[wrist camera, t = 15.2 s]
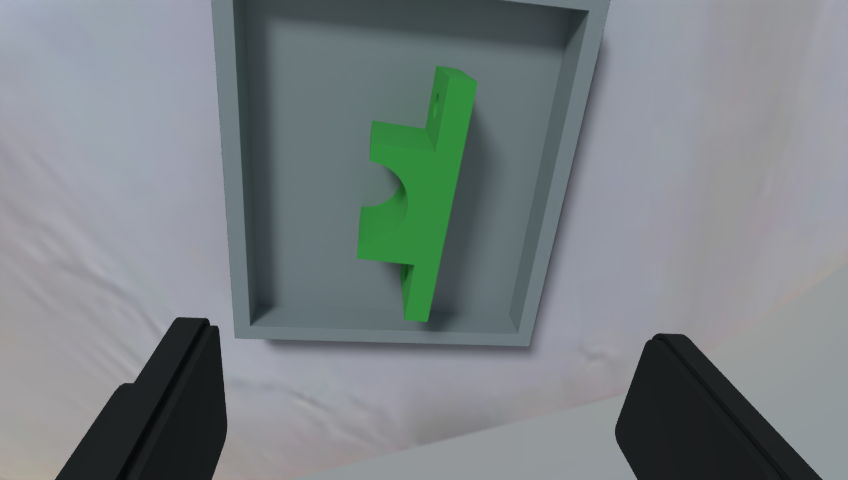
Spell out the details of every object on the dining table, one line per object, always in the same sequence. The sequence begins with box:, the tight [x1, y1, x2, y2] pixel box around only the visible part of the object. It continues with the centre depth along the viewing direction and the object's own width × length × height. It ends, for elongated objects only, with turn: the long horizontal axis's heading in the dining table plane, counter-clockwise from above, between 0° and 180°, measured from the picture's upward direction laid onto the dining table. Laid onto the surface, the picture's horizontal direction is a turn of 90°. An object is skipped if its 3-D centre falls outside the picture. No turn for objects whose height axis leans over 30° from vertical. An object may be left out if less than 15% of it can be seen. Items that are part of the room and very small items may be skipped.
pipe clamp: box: [357, 65, 478, 322], centre depth 23 cm, size 11×4×5 cm, turn 170°
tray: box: [211, 0, 610, 346], centre depth 24 cm, size 16×18×2 cm
